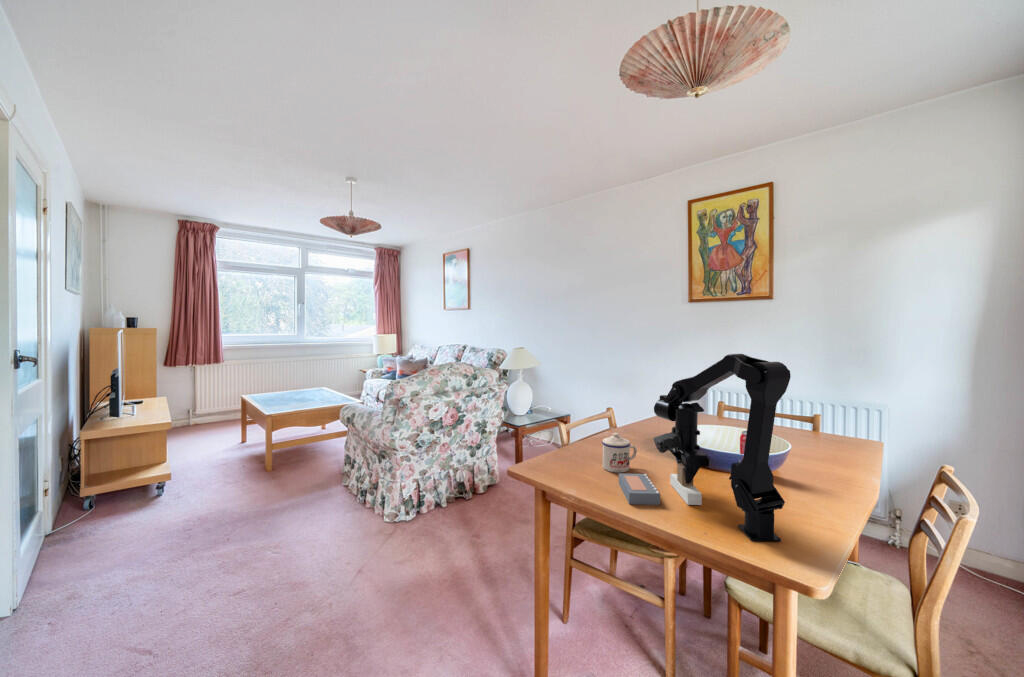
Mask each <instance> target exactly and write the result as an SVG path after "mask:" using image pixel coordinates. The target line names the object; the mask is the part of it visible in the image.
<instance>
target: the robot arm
mask: <svg viewBox="0 0 1024 677" xmlns="http://www.w3.org/2000/svg"><path fill="white" fill-rule="evenodd" d="M733 375H735V376H736V377H737V378H739V379H741V380H743V381H745V390H746V392H747V393H748V394H747V395H748V396H749V398H750V406H749V412H748V419H747V420H748V421H747V428H746V431H747V434H746V441H745V449H744V456H743V459H742V461H741V462H740V461H738V462H732V463H731V466H730V471H731V472H730V476H729V477H728V480H730V487H731V489H732V492H733V496H734V499H735V504H736V506H737V507H738V508H740V509H741V511H742V512H744V524H740V523H739V524H737V527H738V529H739V530H740V531H741V532H742V533H743V534H744V535H745V536H746V537H747V538H748V539H749V540H750V541H752V542H782V538H781V537H780V536H778V535H777V534H776V533H775V510H782V509H783V507H784V505H785V503H786V501H785V500H784V498H783V497H782V495H781V494H780V492H779V491H778V489H777V488H776V487H775V485H774V473H773V472H772V470H771V467H770V465H769V458H770V452H771V445H772V438H773V431H774V425H775V424H774V423H775V418H776V412H777V404H778V402H779V401H780V400H781V398H783V396H784V395H785V393H786V392H787V389H788V386H789V383H790V381H791V377H792V376H791V370H789V369H788V367H787V365H786V364H784V363H783V362H780V361H768V360H764V359H761V358H756V357H752V356H749V355H746V354H744V353H729V354H726V355H725V356H723V358H722V359H720V360H718V361H717V362H715V363H714V364H712V365H710V366H709V367H707V368H706V369H704V370H702V371H701V372H698V374H696V375H694V376H690V377H686V378H682V379H679V380H676V381H674V382H673V383H672V385H671V388H670V390H669V392H668V394H667V395H666V394H664V395H663V394H662V395H659V398H658V400H657V401H656V402H655V404H654V406H653V411H654V414H655V416H656V417H659V418H662V419H665V420H668V421H670V422H675V423H674V426H672V427H671V432H668V433H663V434H661V435H657V436H655V437H653V442H654V445H655V448H656V450H658V452H659V453H661V454H663V453H667V452H668V451H669V452H670V453H671V454H672V455H673V456H674V458H675V461H676V464H677V463H682V464H683V466H684V473H685V480H686V483H687V484H690V483H691V482H692V480H693V481H694V478H695V476H696V475H697V473H698V471H699V470H700V469H701V467H703V468H704V467H706V468H707V467H711V458H710V456H708V455H707V454H706V453H705V452H703V451H702V450H701V449H700V448H701V446H700V445H699V444H698V436H700V435H701V431H700V430H699V429H698V422H699V421H698V419H699V418H698V416H699V415H698V413H703V412H705V409H704V408H703V407H702V406H701V405H700V404H699V402H698V401H700V400H701V399H702V398H703V397H704V396H706V394H707V393H708V390H709V389H710V388H712V387H714V386H716V385H717V384H720V383H721V382H723V381H725V380H727V379H728V378H730V377H732V376H733ZM695 401H697V402H695ZM691 402H692V403H691ZM700 450H701V451H700Z"/></svg>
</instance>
